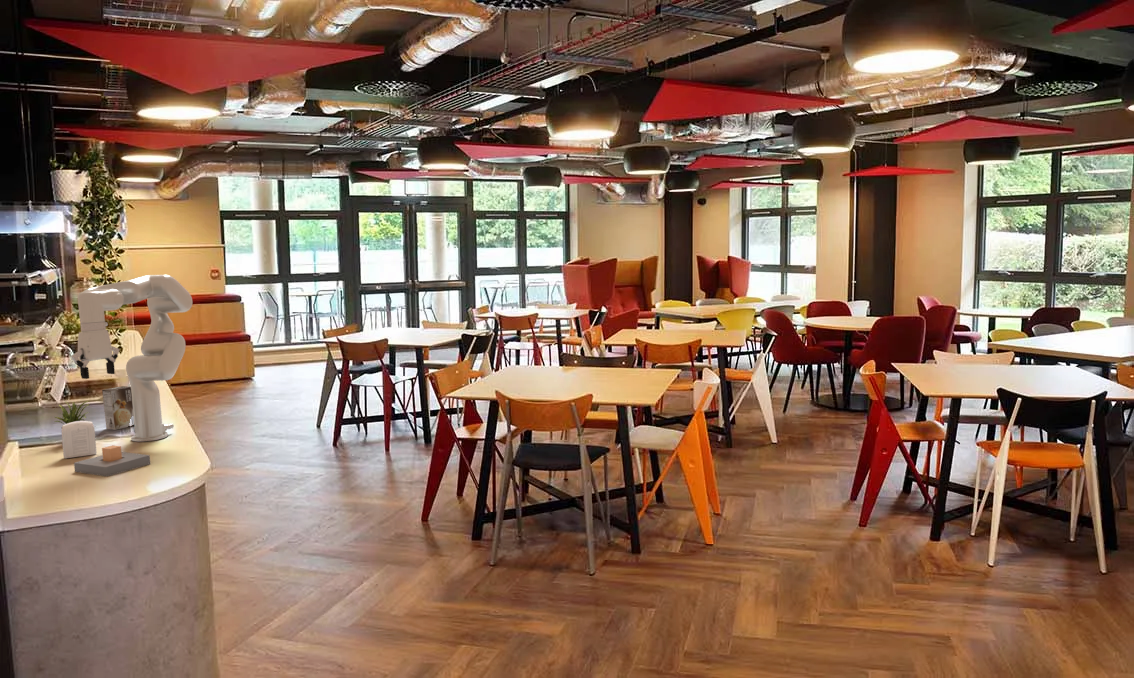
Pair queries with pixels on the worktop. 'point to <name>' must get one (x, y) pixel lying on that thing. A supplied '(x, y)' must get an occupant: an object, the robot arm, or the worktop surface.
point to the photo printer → (78, 439)
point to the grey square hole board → (112, 464)
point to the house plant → (71, 413)
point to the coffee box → (117, 407)
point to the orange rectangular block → (111, 453)
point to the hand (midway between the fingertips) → (98, 376)
